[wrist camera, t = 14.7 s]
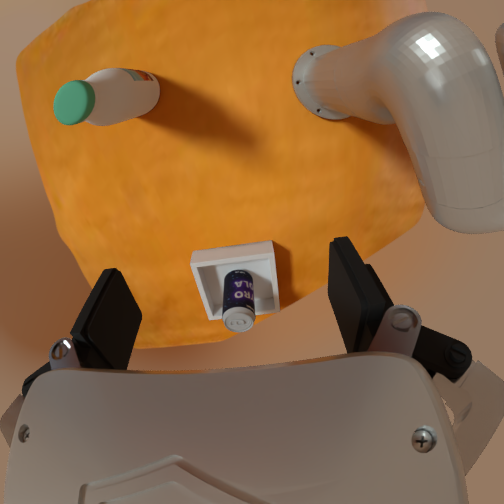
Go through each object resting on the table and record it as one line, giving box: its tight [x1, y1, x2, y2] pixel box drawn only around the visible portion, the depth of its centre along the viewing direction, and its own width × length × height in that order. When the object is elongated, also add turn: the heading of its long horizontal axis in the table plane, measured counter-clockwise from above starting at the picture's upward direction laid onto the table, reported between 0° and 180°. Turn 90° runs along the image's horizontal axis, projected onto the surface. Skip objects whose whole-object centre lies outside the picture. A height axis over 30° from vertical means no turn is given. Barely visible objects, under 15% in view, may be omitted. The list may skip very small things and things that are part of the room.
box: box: [190, 240, 280, 320], centre depth 54 cm, size 15×15×4 cm
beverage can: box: [222, 270, 255, 332], centre depth 50 cm, size 6×6×12 cm
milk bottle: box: [54, 68, 160, 126], centre depth 26 cm, size 8×8×20 cm
